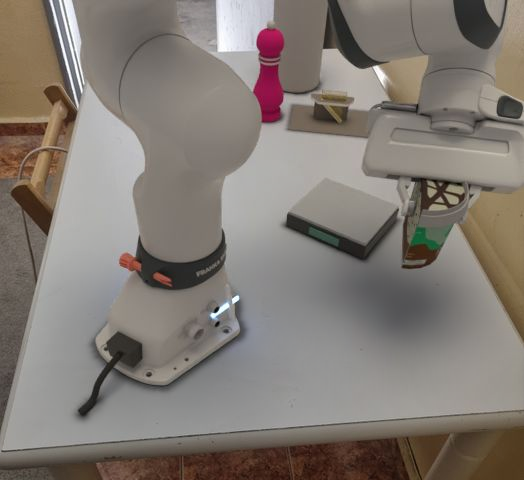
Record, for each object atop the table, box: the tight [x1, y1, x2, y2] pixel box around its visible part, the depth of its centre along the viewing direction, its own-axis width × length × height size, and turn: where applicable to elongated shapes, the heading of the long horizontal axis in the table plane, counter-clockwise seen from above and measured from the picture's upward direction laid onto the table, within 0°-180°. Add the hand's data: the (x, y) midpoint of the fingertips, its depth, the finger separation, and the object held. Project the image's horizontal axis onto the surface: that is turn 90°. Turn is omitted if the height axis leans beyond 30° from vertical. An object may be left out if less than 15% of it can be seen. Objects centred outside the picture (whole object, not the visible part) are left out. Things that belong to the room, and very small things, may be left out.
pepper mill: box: [252, 19, 285, 123], centre depth 114 cm, size 7×7×20 cm
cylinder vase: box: [272, 0, 329, 94], centre depth 124 cm, size 12×12×25 cm
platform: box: [288, 89, 369, 138], centre depth 119 cm, size 12×18×7 cm, turn 83°
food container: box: [400, 178, 469, 270], centre depth 67 cm, size 12×6×10 cm, turn 169°
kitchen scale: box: [285, 177, 400, 260], centre depth 96 cm, size 14×16×3 cm
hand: (432, 219), depth 66 cm, fingers closed on food container, 5 cm apart
